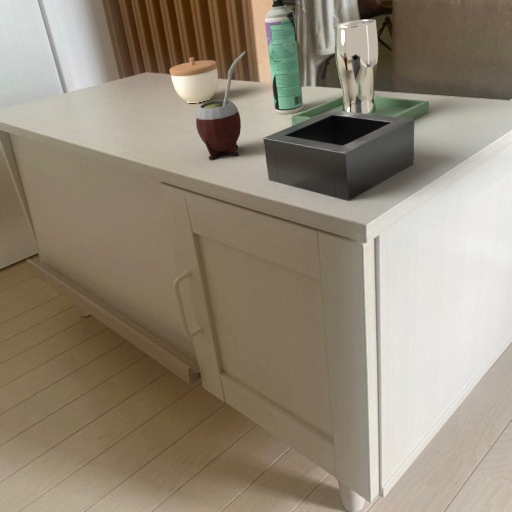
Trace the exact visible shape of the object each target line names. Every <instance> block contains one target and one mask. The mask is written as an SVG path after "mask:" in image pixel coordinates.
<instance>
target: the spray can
mask: <svg viewBox="0 0 512 512" xmlns="http://www.w3.org/2000/svg"><path fill="white" fill-rule="evenodd" d="M264 18H265V19H264V27H265V35H266V43H267V52H268V53H267V54H268V60H269V68H270V76H271V86H272V95H273V103H274V110H275V113H276V114H279V115H291V114H295V113H296V114H297V113H300V112H302V111H303V110H304V101H303V90H302V80H301V79H302V78H301V69H300V58H299V47H298V38H297V37H298V36H297V25H296V16H295V11H294V10H292V9H290V8H289V7H287V4H285V3H284V0H272V5H271V7H270V10H268V11H267V13H266V14H264Z"/></svg>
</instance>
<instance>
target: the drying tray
mask: <svg viewBox="0 0 512 512" xmlns="http://www.w3.org/2000/svg"><path fill="white" fill-rule="evenodd" d="M374 99H375V105H376V109H377V115H380V116H389V117H397V118H405V119H414V120H415V119H416V118H418V117H422V115H424V114H427V113H429V111H430V110H429V109H430V101H428V100H420V99H409V98H400V97H399V98H398V97H385V96H375V95H374ZM342 107H343V95H341V96H339V97H336V98H334V99H330V100H329V101H326V102H323V103H321V104H319V105H316V106H314V107H311V108H309V109H306V110H304V111H303V110H302V111H300V112H297V113H296V114H293V115H291V116H290V118H291V126H293V125H296V124H298V123H301V122H303V121H305V120H308V119H310V118H313V117H315V116H318V115H320V114H322V113H325V112H327V111H330V110H337V111H342Z"/></svg>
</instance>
